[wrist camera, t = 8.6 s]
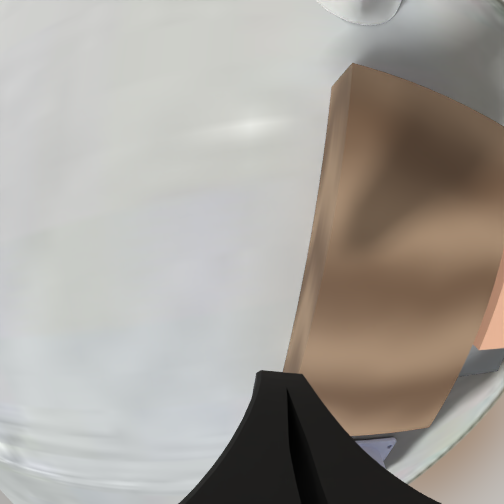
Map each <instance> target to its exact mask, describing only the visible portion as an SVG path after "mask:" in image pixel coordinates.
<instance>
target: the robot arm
mask: <svg viewBox="0 0 504 504" xmlns="http://www.w3.org/2000/svg"><path fill="white" fill-rule="evenodd" d="M395 443H396V439H395V438H394V437H392V438H383V439H373V440H360V441H354V439H353V438H352V437H351V436H350V435H349V434H348V433H347V432H346V431H345V430H344V428H343V427H342V426H341V425H340V424H339V422H338V421H337V420H336V419H335V417H334V416H333V415H332V414H331V412H330V411H329V410H328V409H327V407H326V406H325V405H324V403H323V402H322V401H321V399H320V398H319V396H318V395H317V394H316V392H315V391H314V389H313V388H312V387H311V385H310V384H309V382H308V381H307V379H306V378H305V377H304V375H303V374H298V373H285V372H274V371H264V370H261V371H259V372H257V373H256V378H255V384H254V389H253V394H252V399H251V401H250V403H249V406H248V408H247V410H246V413H245V415H244V417H243V419H242V421H241V423H240V425H239V426H238V428H237V430H236V432H235V434H234V435H233V437H232V439H231V440H230V442H229V444H228V445H227V447H226V448H225V450H224V451H223V453H222V454H221V456H220V457H219V458H218V460H217V461H216V462H215V464H214V465H213V466H212V468H211V469H210V470H209V471H208V473H207V474H206V475H205V476H204V477H203V478H202V480H201V481H200V482H199V483H198V484H197V485H196V487H195V488H194V489H193V490H192V491H191V492H190V493H189V494H188V495H187V496H186V497H185V498H184V499H183V500H182V501H181V502H180V503H179V504H441V503H439V502H437V501H435V500H433V499H431V498H429V497H427V496H425V495H423V494H422V493H420V492H418V491H417V490H415V489H413V488H412V487H410V486H409V485H407V484H406V483H404V482H403V481H401V480H400V479H398V478H397V477H395V476H394V475H393V474H391V473H390V472H389V471H387V470H386V467H385V464H384V462H383V461H384V460H385V458H386V457H387V455H388V454H389V452H390V451H391V449H392V448H393V446H394V445H395Z"/></svg>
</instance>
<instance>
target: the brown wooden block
mask: <svg viewBox="0 0 504 504" xmlns="http://www.w3.org/2000/svg"><path fill="white" fill-rule="evenodd" d="M503 249H504V126H502V125H500V124H499V123H497V122H495V121H493V120H492V119H490V118H488V117H486V116H485V115H483V114H481V113H479V112H477V111H475V110H473V109H471V108H469V107H467V106H465V105H463V104H461V103H459V102H457V101H455V100H453V99H451V98H449V97H447V96H444V95H442V94H440V93H438V92H435V91H433V90H431V89H428V88H426V87H423V86H421V85H418V84H416V83H413V82H410V81H408V80H405V79H402V78H399V77H397V76H394V75H391V74H388V73H385V72H382V71H378V70H375V69H372V68H369V67H365V66H362V65H358V64H355V63H352V64H351V65H350V66H349V67H348V69H347V70H346V71H345V72H344V73H343V74H342V76H341V77H340V78H339V79H338V80H337V81H336V82H335V84H334V85H333V86H332V89H331V98H330V108H329V116H328V125H327V133H326V141H325V148H324V156H323V163H322V170H321V177H320V184H319V190H318V197H317V203H316V209H315V215H314V221H313V227H312V233H311V239H310V245H309V250H308V256H307V261H306V266H305V271H304V277H303V282H302V287H301V292H300V297H299V302H298V306H297V311H296V316H295V321H294V325H293V330H292V334H291V339H290V343H289V348H288V352H287V356H286V360H285V365H284V369H283V372H285V373H298V374H303V375H304V377H305V378H306V379H307V381H308V382H309V384H310V385H311V387H312V388H313V389H314V391H315V392H316V394H317V395H318V396H319V398H320V399H321V401H322V402H323V403H324V405H325V406H326V407H327V409H328V410H329V411H330V412H331V414H332V415H333V416H334V417H335V419H336V420H337V421H338V422H339V424H340V425H341V426H342V427H343V428H344V430H345V431H346V432H347V433H348V434H349V435H350V436H360V435H374V434H384V433H394V432H402V431H409V430H416V429H422V428H428V427H430V425H431V424H432V422H433V420H434V419H435V417H436V415H437V414H438V412H439V410H440V409H441V407H442V405H443V403H444V402H445V400H446V398H447V396H448V394H449V393H450V391H451V389H452V387H453V385H454V383H455V381H456V379H457V377H458V375H459V373H460V371H461V369H462V367H463V365H464V363H465V361H466V358H467V356H468V354H469V352H470V350H471V347H472V345H473V343H474V340H475V338H476V335H477V333H478V330H479V328H480V325H481V322H482V320H483V317H484V314H485V311H486V309H487V306H488V303H489V300H490V297H491V293H492V290H493V287H494V284H495V280H496V277H497V273H498V269H499V266H500V262H501V258H502V254H503Z"/></svg>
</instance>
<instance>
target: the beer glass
mask: <svg viewBox="0 0 504 504" xmlns="http://www.w3.org/2000/svg"><path fill="white" fill-rule="evenodd" d="M316 1H317V2H318V3H319V4H320V5H321V6H322V7H323V8H325V9H326V10H327V11H329V12H330V13H332V14H333V15H335V16H337V17H339V18H341V19H343V20H346V21H349V22H352V23H356V24H361V25H378V24H382V23H385V22H387V21H389V20H390V19H391V18H392V17H393V16H394V15H395V13H396V12H397V10H398V8H399V5H400V3H401V1H402V0H316Z"/></svg>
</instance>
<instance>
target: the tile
mask: <svg viewBox="0 0 504 504" xmlns="http://www.w3.org/2000/svg"><path fill="white" fill-rule="evenodd" d="M473 345H474V346H475V347H476V348H477V349H478V350H488V349H500V348H504V249H503V254H502V258H501V262H500V266H499V269H498V273H497V277H496V280H495V284H494V287H493V290H492V293H491V297H490V300H489V303H488V306H487V309H486V311H485V314H484V317H483V320H482V322H481V325H480V328H479V330H478V333H477V335H476V338H475V340H474V343H473Z"/></svg>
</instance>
